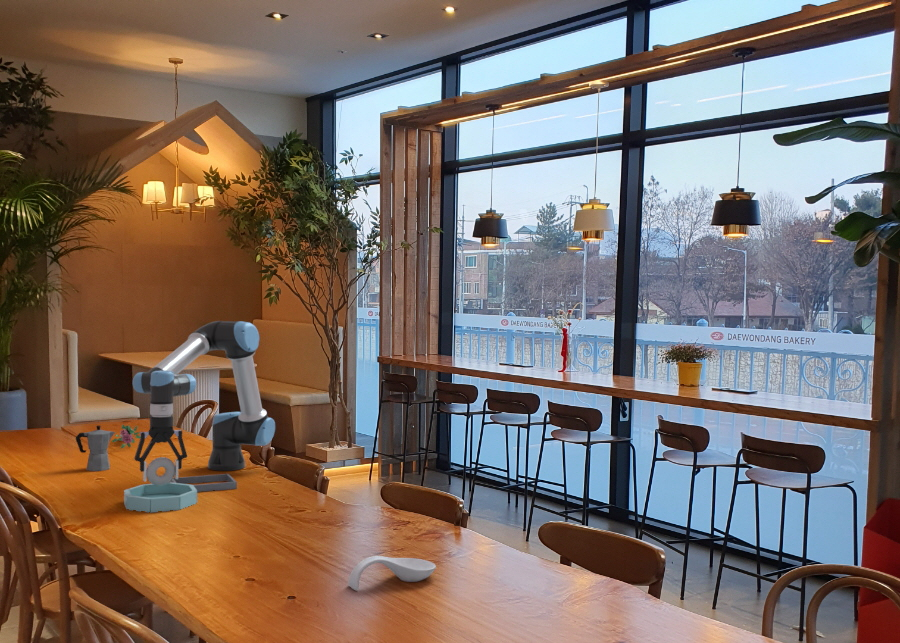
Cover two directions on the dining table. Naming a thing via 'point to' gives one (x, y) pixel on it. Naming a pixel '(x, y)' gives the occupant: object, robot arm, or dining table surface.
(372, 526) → the dining table surface
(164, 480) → the donut
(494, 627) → the dining table surface
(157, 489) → the bowl
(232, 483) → the grey rectangular frame
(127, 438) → the flower vase
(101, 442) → the coffeepot
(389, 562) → the spoon rest
